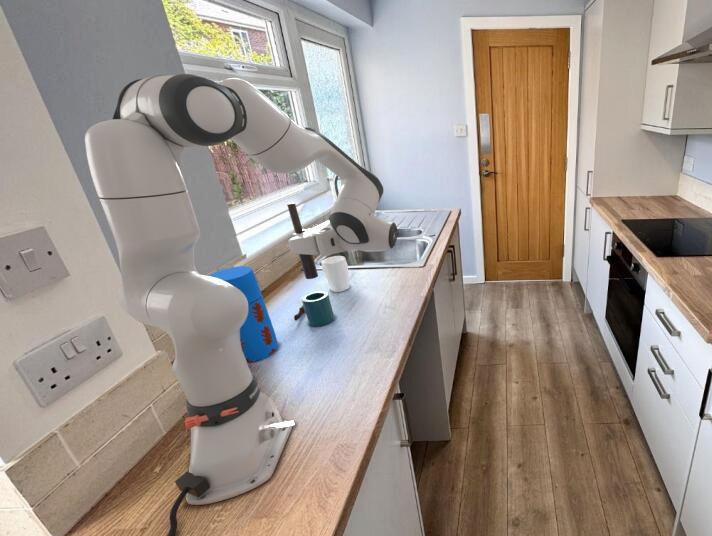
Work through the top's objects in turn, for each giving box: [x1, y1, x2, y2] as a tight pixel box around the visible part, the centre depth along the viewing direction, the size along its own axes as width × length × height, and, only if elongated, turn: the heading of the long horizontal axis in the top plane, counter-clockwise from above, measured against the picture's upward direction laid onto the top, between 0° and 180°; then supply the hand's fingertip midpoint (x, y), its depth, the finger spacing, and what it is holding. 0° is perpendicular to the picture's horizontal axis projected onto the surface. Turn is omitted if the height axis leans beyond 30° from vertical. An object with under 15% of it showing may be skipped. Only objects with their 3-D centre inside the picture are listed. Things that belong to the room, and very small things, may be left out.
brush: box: [286, 201, 319, 280], centre depth 114 cm, size 3×3×22 cm
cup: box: [320, 255, 350, 293], centre depth 155 cm, size 9×9×12 cm
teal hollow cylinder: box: [301, 290, 335, 327], centre depth 133 cm, size 8×8×9 cm
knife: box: [293, 304, 306, 322], centre depth 140 cm, size 18×2×3 cm, turn 11°
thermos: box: [208, 265, 279, 363], centre depth 114 cm, size 11×11×25 cm
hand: (297, 234), depth 114 cm, fingers closed on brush, 2 cm apart
